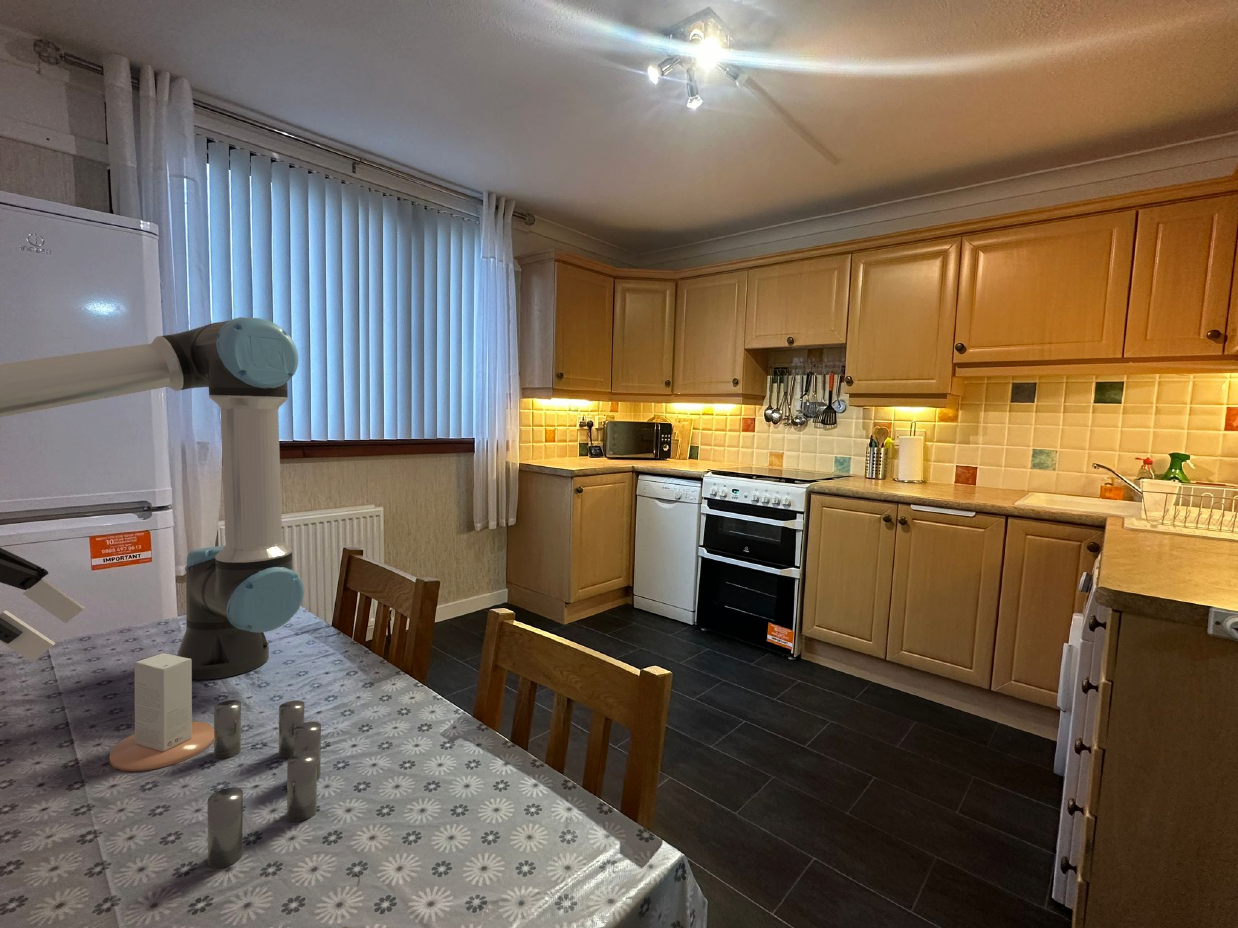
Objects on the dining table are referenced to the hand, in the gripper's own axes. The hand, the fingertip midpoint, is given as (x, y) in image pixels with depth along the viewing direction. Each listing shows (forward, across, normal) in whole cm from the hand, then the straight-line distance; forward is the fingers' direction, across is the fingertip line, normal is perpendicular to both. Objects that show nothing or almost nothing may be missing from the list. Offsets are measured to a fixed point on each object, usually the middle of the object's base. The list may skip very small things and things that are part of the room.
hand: (61, 632), depth 80 cm
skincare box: (+20, +1, -4) cm, 21 cm away
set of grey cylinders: (+27, +18, +4) cm, 33 cm away
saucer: (+21, +2, -4) cm, 21 cm away
